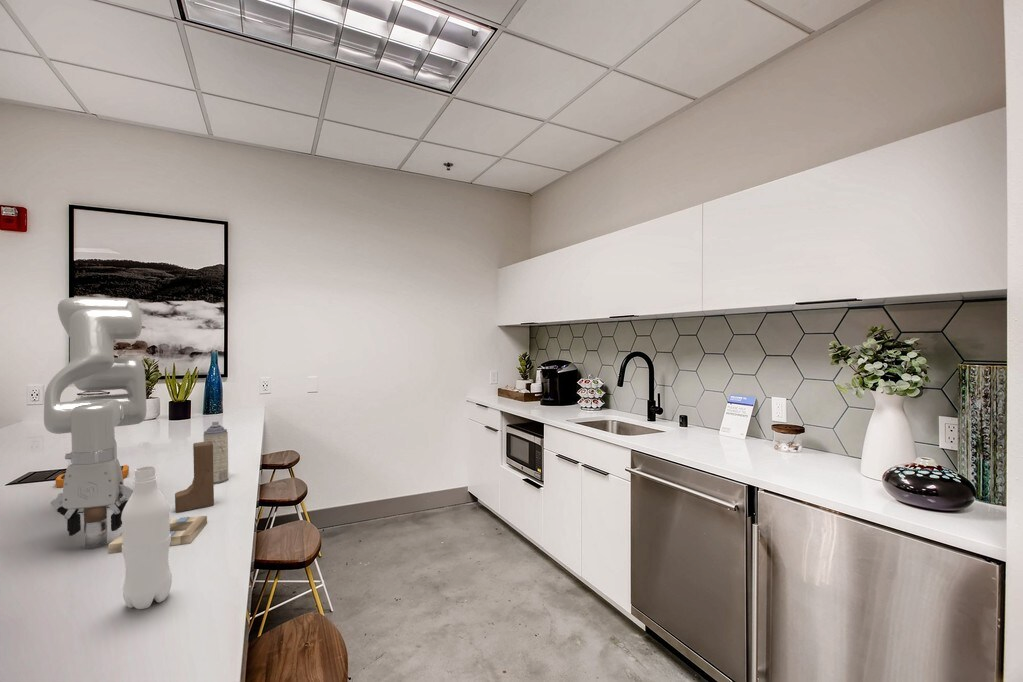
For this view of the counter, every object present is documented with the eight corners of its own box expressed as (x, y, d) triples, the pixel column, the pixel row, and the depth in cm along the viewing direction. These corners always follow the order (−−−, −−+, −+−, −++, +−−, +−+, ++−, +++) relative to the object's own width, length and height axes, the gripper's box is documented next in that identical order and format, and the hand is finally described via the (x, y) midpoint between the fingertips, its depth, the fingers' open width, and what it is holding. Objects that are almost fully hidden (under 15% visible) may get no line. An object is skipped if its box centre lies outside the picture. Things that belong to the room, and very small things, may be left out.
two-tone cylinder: (80, 549, 107) (79, 498, 106) (90, 542, 110) (89, 492, 110) (102, 547, 108) (100, 496, 108) (111, 539, 112) (109, 490, 111)
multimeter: (59, 483, 154) (59, 473, 154) (129, 473, 165) (129, 463, 165) (54, 490, 147) (53, 479, 147) (127, 479, 158) (127, 469, 158)
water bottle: (141, 591, 89) (138, 463, 89) (180, 589, 90) (177, 462, 89) (112, 614, 82) (109, 475, 82) (155, 612, 83) (152, 474, 82)
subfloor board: (108, 553, 105) (108, 543, 105) (133, 531, 116) (133, 522, 116) (190, 543, 110) (190, 534, 110) (207, 523, 121) (206, 514, 121)
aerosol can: (232, 477, 159) (230, 419, 158) (222, 483, 152) (221, 423, 152) (210, 478, 158) (209, 420, 157) (200, 485, 151) (199, 424, 151)
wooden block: (175, 513, 128) (174, 448, 127) (175, 508, 131) (173, 445, 131) (214, 505, 133) (213, 443, 133) (212, 500, 137) (211, 440, 136)
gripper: (36, 464, 102) (38, 543, 103) (130, 457, 108) (132, 532, 108) (57, 455, 110) (59, 529, 110) (145, 449, 115) (147, 520, 115)
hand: (95, 530), depth 109 cm, fingers open, 7 cm apart
